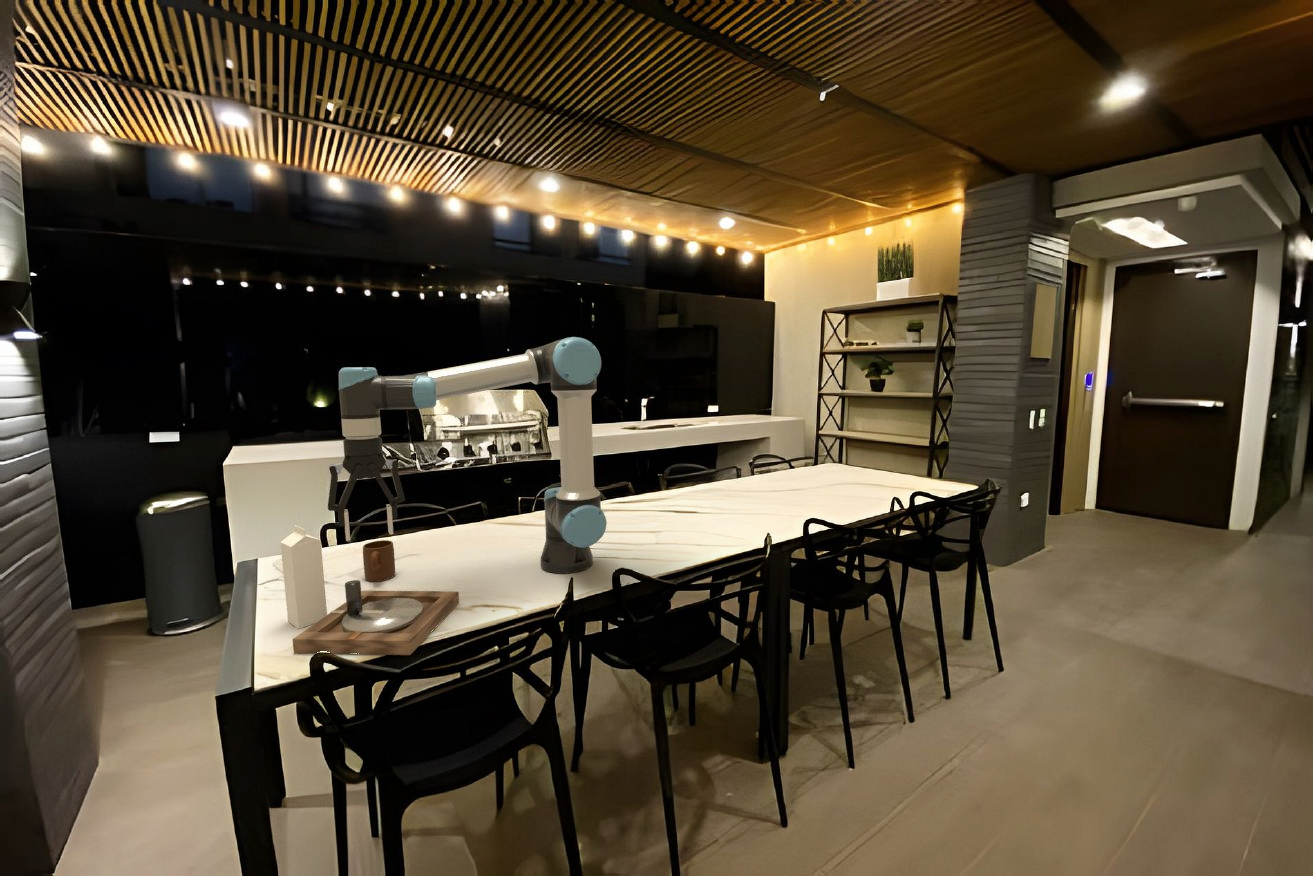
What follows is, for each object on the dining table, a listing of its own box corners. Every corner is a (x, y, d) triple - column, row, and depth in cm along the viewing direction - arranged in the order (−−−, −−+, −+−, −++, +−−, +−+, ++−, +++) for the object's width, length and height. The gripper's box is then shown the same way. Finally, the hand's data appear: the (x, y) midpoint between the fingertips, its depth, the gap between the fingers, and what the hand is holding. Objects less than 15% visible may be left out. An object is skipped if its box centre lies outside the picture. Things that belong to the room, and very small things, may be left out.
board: (459, 603, 130) (458, 590, 130) (410, 655, 106) (409, 640, 106) (363, 602, 131) (362, 589, 131) (293, 653, 107) (292, 638, 107)
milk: (316, 612, 126) (309, 521, 123) (328, 619, 122) (320, 526, 120) (287, 622, 121) (278, 527, 118) (297, 629, 117) (289, 532, 115)
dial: (435, 603, 126) (433, 569, 125) (400, 636, 110) (397, 598, 109) (369, 602, 127) (366, 569, 126) (325, 635, 111) (322, 597, 110)
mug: (391, 586, 141) (389, 552, 140) (359, 590, 138) (356, 555, 137) (397, 570, 152) (395, 538, 151) (367, 574, 150) (364, 541, 148)
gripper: (410, 432, 127) (416, 524, 130) (306, 438, 116) (315, 539, 119) (415, 435, 121) (421, 532, 124) (306, 442, 110) (316, 549, 112)
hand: (369, 535), depth 121 cm, fingers open, 8 cm apart
